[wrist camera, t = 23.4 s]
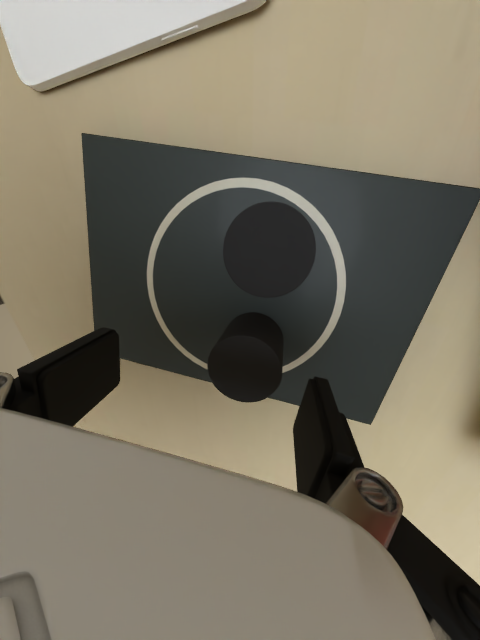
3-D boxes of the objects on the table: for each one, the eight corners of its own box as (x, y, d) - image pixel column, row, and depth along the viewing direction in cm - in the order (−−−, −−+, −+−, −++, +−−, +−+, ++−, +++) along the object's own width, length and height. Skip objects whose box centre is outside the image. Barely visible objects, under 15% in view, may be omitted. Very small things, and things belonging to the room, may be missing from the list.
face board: (104, 346, 20) (93, 353, 19) (94, 139, 15) (78, 131, 14) (366, 415, 17) (371, 427, 16) (470, 192, 12) (489, 188, 11)
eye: (234, 276, 15) (216, 288, 11) (245, 206, 13) (229, 193, 9) (297, 288, 14) (301, 306, 10) (316, 218, 13) (328, 209, 9)
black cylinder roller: (221, 358, 17) (203, 391, 13) (230, 306, 15) (211, 327, 12) (276, 371, 16) (272, 410, 12) (289, 319, 15) (290, 346, 11)
